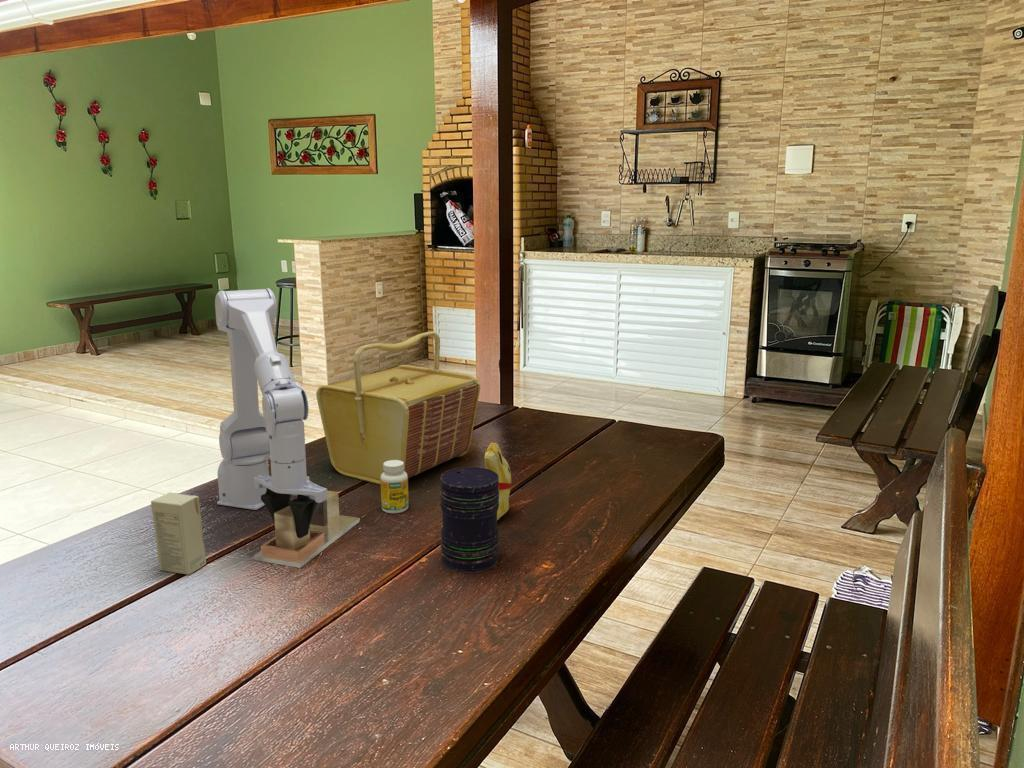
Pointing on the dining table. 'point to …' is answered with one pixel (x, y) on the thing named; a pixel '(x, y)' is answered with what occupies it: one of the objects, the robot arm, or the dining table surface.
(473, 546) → the storage jar
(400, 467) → the supplement bottle
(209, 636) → the dining table surface
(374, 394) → the picnic basket
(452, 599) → the dining table surface
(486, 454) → the chocolate bunny
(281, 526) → the block
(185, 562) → the skincare box
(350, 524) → the cream holder stand
